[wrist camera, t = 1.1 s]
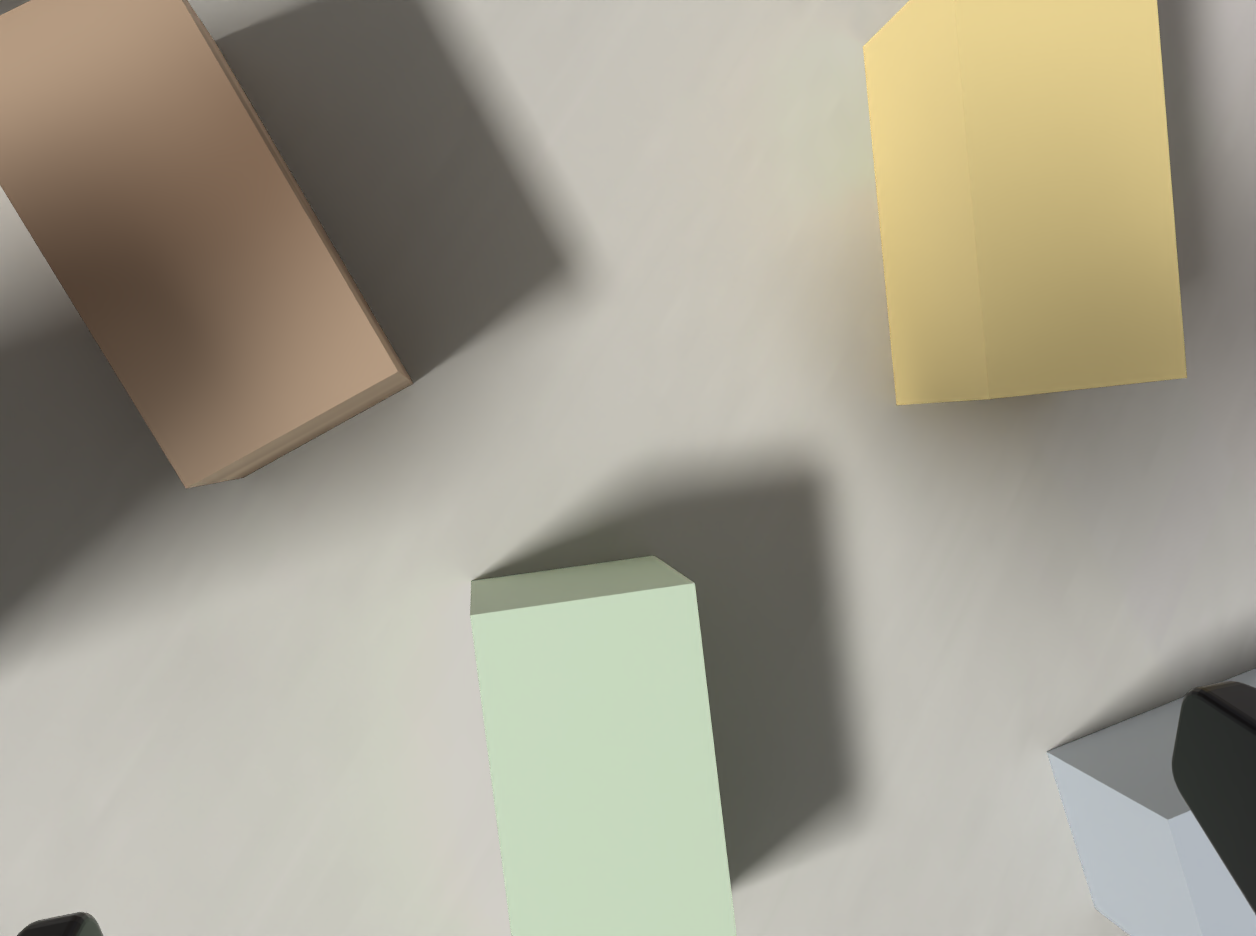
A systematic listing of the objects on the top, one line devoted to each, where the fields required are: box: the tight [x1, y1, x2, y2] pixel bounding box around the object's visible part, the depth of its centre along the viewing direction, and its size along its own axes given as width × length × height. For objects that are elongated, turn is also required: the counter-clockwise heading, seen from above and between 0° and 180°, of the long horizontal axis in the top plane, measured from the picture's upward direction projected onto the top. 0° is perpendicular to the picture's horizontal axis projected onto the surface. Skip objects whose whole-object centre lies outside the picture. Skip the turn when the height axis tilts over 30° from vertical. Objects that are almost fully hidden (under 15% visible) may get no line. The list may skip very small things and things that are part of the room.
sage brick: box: [470, 556, 736, 936], centre depth 19 cm, size 7×4×4 cm, turn 7°
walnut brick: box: [0, 0, 413, 489], centre depth 17 cm, size 7×4×4 cm, turn 30°
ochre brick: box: [863, 0, 1187, 405], centre depth 19 cm, size 7×4×4 cm, turn 6°
